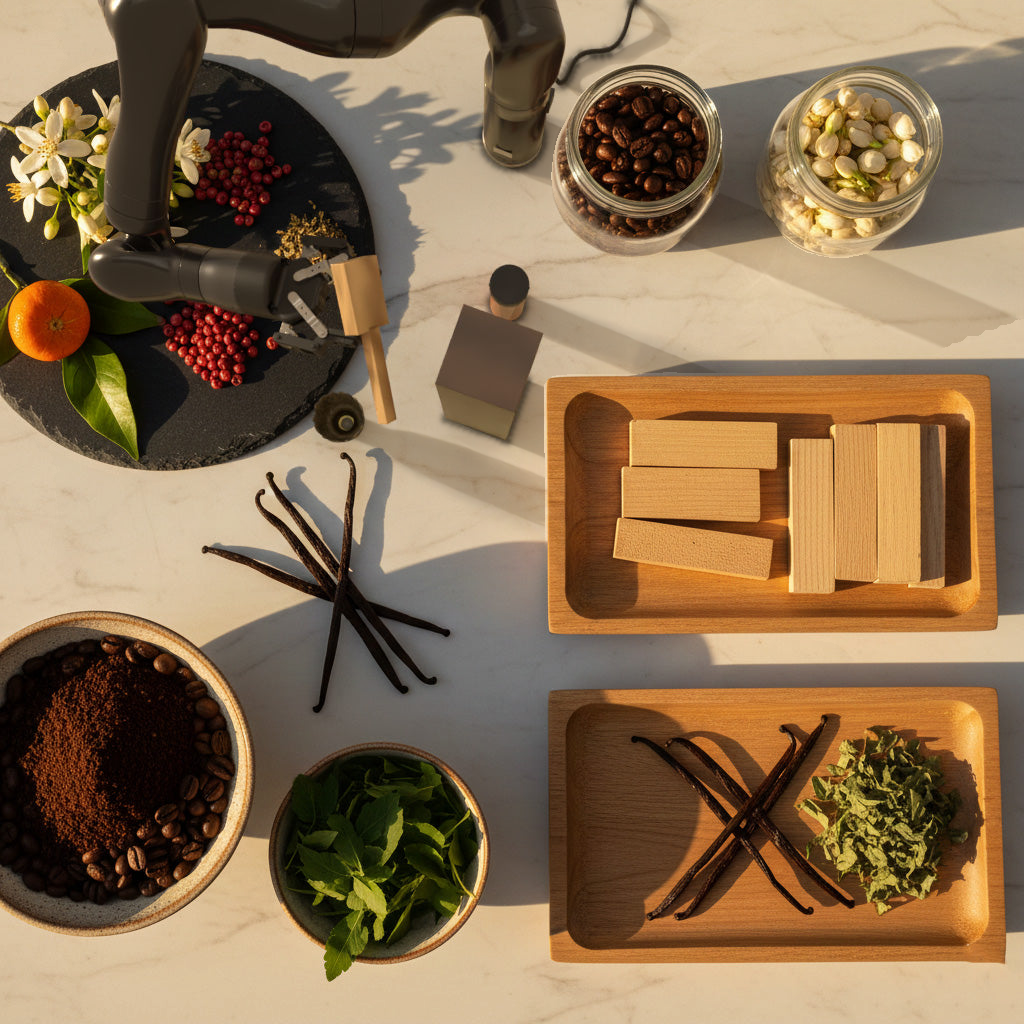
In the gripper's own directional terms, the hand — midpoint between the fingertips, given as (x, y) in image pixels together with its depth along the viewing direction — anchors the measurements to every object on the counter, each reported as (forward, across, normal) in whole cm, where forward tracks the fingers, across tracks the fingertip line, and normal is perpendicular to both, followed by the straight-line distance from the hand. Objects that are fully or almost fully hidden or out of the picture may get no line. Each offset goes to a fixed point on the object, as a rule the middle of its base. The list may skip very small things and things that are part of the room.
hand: (370, 305), depth 95 cm
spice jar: (+8, +14, +31) cm, 35 cm away
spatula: (+2, -4, 0) cm, 5 cm away
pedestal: (+9, -1, +32) cm, 33 cm away
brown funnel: (-11, -10, +28) cm, 32 cm away
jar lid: (+11, +13, +20) cm, 27 cm away
